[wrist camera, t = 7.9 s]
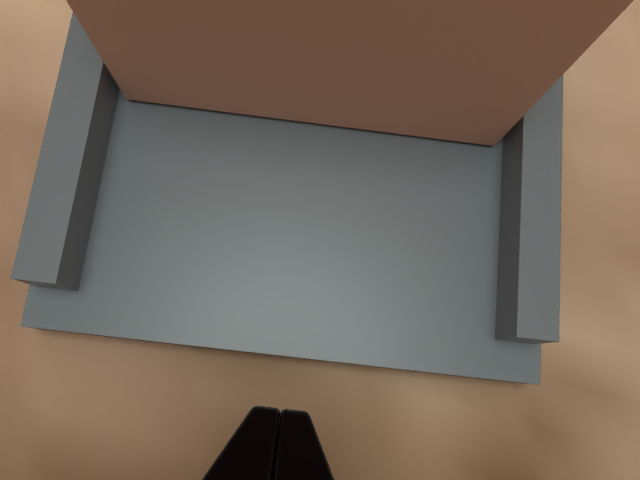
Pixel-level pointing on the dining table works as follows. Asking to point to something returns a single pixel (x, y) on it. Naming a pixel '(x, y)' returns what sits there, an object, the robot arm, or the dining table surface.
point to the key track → (293, 233)
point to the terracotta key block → (349, 58)
